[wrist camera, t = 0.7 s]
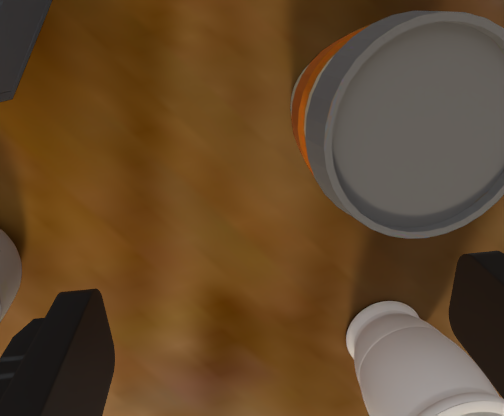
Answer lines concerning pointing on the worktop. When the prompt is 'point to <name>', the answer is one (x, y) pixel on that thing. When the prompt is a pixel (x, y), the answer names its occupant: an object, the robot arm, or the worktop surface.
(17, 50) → the cabinet
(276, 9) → the worktop surface
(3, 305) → the teacup
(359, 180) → the reusable coffee cup
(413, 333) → the jar
